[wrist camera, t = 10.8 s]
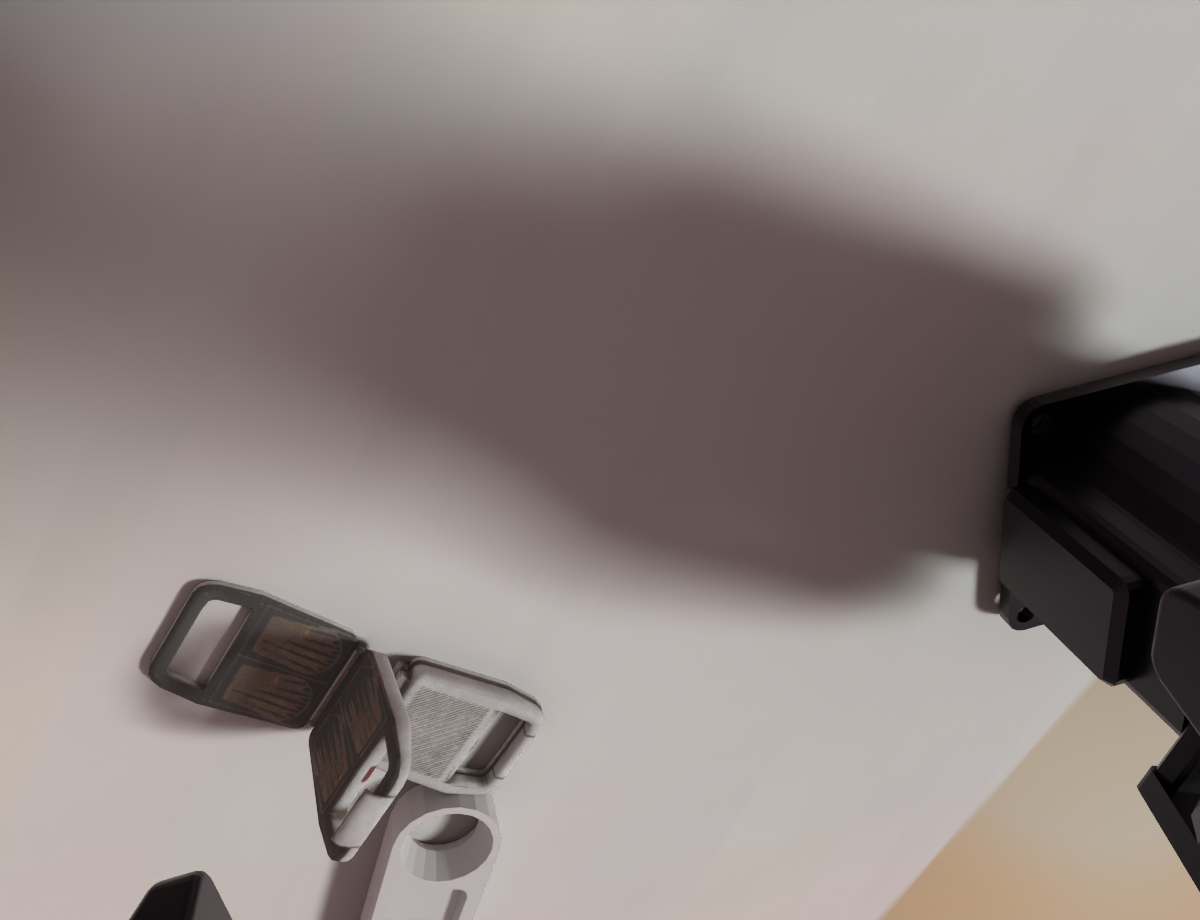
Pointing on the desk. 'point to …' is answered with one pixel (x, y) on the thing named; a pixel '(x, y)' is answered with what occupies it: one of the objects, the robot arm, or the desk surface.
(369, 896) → the adjustable wrench
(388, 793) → the strap clip
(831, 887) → the desk surface
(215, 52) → the desk surface
